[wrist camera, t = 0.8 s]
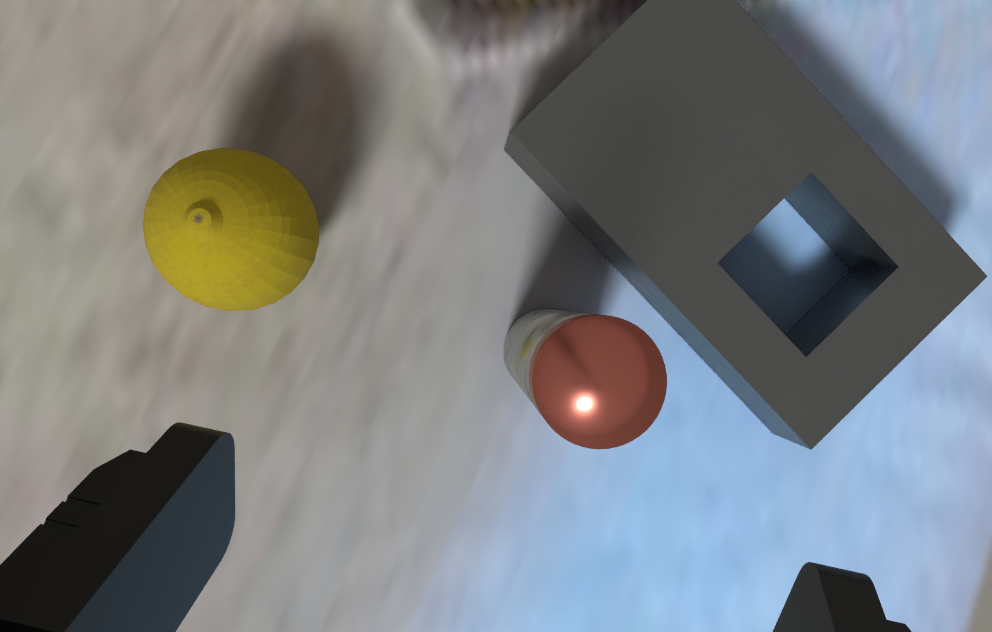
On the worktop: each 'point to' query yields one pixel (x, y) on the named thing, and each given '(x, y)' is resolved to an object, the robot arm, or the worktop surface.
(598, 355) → the pin
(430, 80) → the worktop surface
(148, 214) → the lemon
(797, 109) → the grey block with hole
